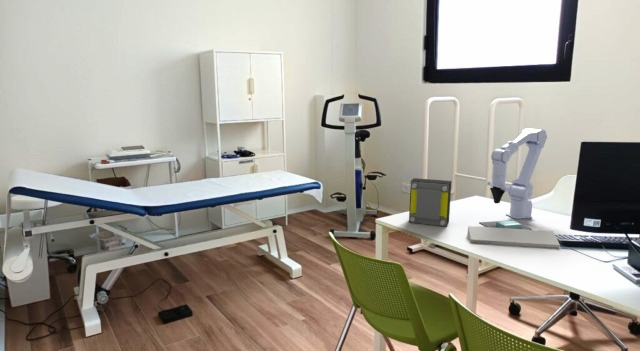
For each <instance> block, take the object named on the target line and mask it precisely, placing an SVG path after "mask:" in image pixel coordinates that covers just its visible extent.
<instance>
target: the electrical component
mask: <svg viewBox="0 0 640 351" xmlns="http://www.w3.org/2000/svg"><path fill="white" fill-rule="evenodd" d="M409 194H410V195H409V209H408V211H409V212H408V223H414V224H421V225H422V224H424V225H431V226H438V227H440V226H441V227H448V225H449V223H450V214H451V213H450V211H451V196H452V195H451V194H452V180H443V179H442V180H441V179H429V178H414V177H413V178H412V179H411V180H410V193H409Z"/></svg>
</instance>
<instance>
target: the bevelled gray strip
mask: <svg viewBox="0 0 640 351" xmlns="http://www.w3.org/2000/svg"><path fill="white" fill-rule="evenodd" d="M466 235H467V237H468V239H469V242H470V243H473V244H474V243H476V244H487V245H488V244H492V245H504V246H505V245H506V246H520V247H521V246H523V247H538V248H542V247H543V248H551V249H552V248H553V249H554V248H555V249H560V245H561V244H560V242H559V240H558V238H557V236H556V234H555V232H554V231H553V230H541V229H532V230H527V229H510V228H493V227H486V226H473V225H472V226H471V225H468V226H467V234H466Z"/></svg>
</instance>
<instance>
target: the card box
mask: <svg viewBox="0 0 640 351" xmlns="http://www.w3.org/2000/svg"><path fill="white" fill-rule="evenodd" d="M499 221H500V222H496V226H498V227H500V228H510V229H519V228H522V224H523V223H520V222H519V221H517V220H514V221H507V220H499Z"/></svg>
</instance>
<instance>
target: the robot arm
mask: <svg viewBox="0 0 640 351" xmlns="http://www.w3.org/2000/svg"><path fill="white" fill-rule="evenodd" d="M547 139H548V135H547V131H546V130H545V129H538V128H529V127H526V128H524V129H523V130H522V131H521V134H520V135H518V137H517V138H515V139H514V140H508V141H507V142H506V143H505V144H504V145H502V146H501V147H500V148H496V149H494V150H493V151H492V153H491V155H490V157H491V161H492V165H493V166H492V178H491V180H487V184H486V185H487V186H489V187H490V188H489V190H490V191H491V195H492V197H493V198H492V199H493V202H494V204H500V203H501V200H502V198H503V195H504V194H505V193H506V192H507V194H508V196H509V199H510V208H509V212H508V213H506V214H505V215H506V216H509V217H511V218H513V219H514V220H521V219H532V218H533V216H532V212H533V203H532V200H531V197H532V195H533V188H534V187H533V184H532V183H531V182H530V181H531V178H532V175H533V173H534V171H535V168H536V165H537V162H538V160H539V158H540V155H541V152H542V149H543V148H544V146H545V143H546V141H547ZM524 144H525V146H527V147H528V152H527V154H526V156H525V159H524V163H523V165H522V167H521V170H520V172H519V175H518V178H517V179H514V180H512V183H511V184H510V185H509V186H508V185H506V175H507V164H508V162H509V161H510V160H511V157H512V156H513V155H514V154H515V153H516V152H518V151H519V147H521V146H522V145H524Z"/></svg>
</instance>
